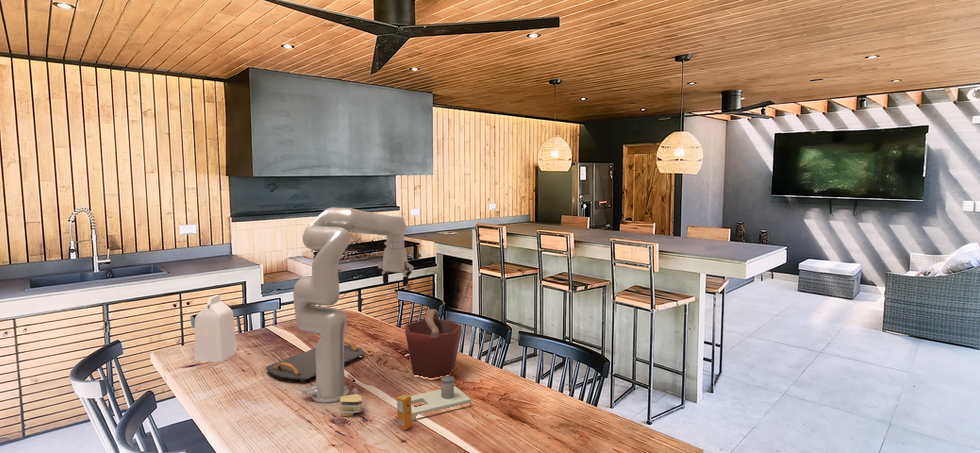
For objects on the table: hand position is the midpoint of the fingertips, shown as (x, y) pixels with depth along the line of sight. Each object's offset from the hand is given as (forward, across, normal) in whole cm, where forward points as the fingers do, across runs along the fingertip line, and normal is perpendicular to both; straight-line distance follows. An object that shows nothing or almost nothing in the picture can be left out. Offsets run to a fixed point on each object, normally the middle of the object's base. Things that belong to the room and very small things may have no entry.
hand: (395, 284), depth 216 cm
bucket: (+31, +23, -12) cm, 41 cm away
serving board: (+32, -23, -23) cm, 46 cm away
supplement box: (+31, +36, -56) cm, 73 cm away
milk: (+31, -69, -31) cm, 82 cm away
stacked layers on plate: (+32, +15, -54) cm, 64 cm away
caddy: (+31, +38, -39) cm, 63 cm away
